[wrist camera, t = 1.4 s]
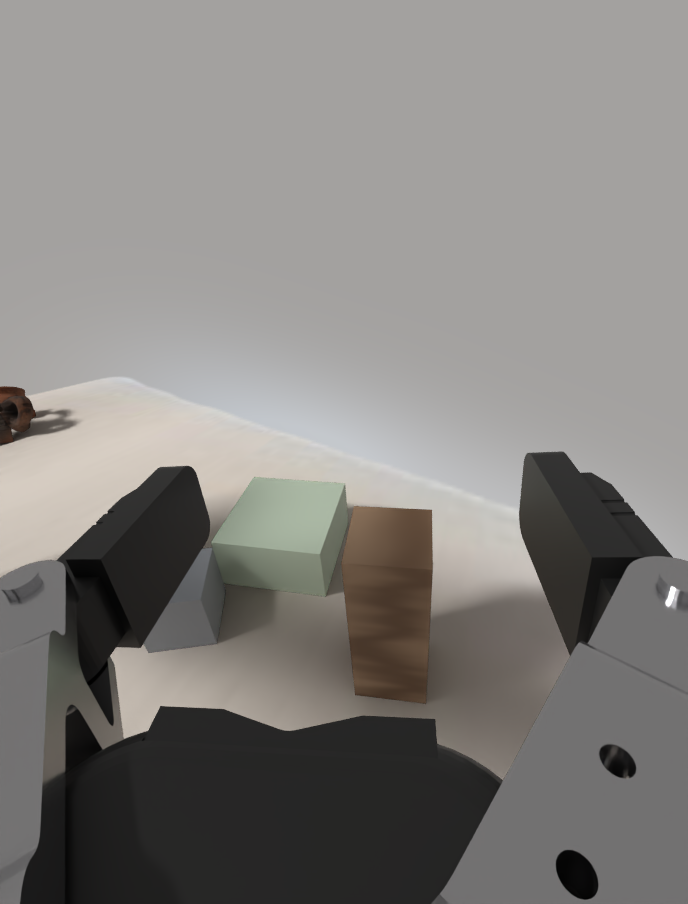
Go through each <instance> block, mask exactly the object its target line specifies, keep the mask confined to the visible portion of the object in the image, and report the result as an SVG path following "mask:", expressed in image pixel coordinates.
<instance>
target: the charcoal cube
mask: <svg viewBox="0 0 688 904" xmlns="http://www.w3.org/2000/svg"><path fill="white" fill-rule="evenodd" d="M225 593H226V589H225V586H224V583H223V579H222V576H221V573H220V570H219V567H218V564H217V560H216V557H215V554H214V551H213V548H204V549H202V550H201V551H200V553H199V554H198V556H197V558H196V559H195V561H194V562H193V564H192V566H191V567H190V569H189V571H188V572H187V574H186V575H185V577H184V579H183V580H182V582H181V584H180V585H179V587H178V588H177V590H176V592H175V593H174V595H173V596H172V598H171V600H170V601H169V603H168V605H167V606H166V608H165V609H164V611H163V613H162V614H161V616H160V617H159V619H158V621H157V622H156V624H155V626H154V627H153V629H152V630H151V632H150V634H149V635H148V637H147V638H146V640H145V642H144V645H145V647H146V649H147V651H148V653H152V652H159V651H167V650H175V649H182V648H190V647H197V646H205V645H212V644H217V641H218V635H219V629H220V623H221V617H222V611H223V605H224V599H225Z"/></svg>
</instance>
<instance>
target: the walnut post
mask: <svg viewBox="0 0 688 904" xmlns="http://www.w3.org/2000/svg"><path fill="white" fill-rule="evenodd" d="M341 566H342V575H343V585H344V594H345V603H346V613H347V622H348V632H349V641H350V650H351V660H352V669H353V678H354V688H355V695H360V696H368V697H376V698H385V699H393V700H401V701H409V702H417V703H425V704H426V691H427V672H428V652H429V632H430V612H431V592H432V572H433V560H432V510H422V509H401V508H380V507H358V506H354V508H353V513H352V517H351V522H350V526H349V531H348V535H347V540H346V544H345V548H344V553H343V557H342V562H341Z"/></svg>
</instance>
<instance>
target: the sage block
mask: <svg viewBox="0 0 688 904" xmlns="http://www.w3.org/2000/svg"><path fill="white" fill-rule="evenodd" d="M347 525H348V513H347V502H346V490H345V483H331V482H317V481H303V480H289V479H275V478H261V477H254V478H253V479H252V481H251V482H250V484H249V485H248V487H247V488H246V490H245V491H244V493H243V494H242V496H241V497H240V499H239V501H238V502H237V504H236V505H235V507H234V508H233V510H232V511H231V513H230V514H229V516H228V517H227V519H226V520H225V522H224V523H223V525H222V526H221V528H220V529H219V531H218V532H217V534H216V535H215V537H214V538H213V540H212V541H211V545H212V548H213V551H214V554H215V557H216V560H217V564H218V567H219V570H220V573H221V576H222V579H223V583H224V584H231V585H239V586H247V587H255V588H262V589H270V590H278V591H286V592H293V593H301V594H309V595H317V596H325V597H326V594H327V591H328V587H329V584H330V581H331V578H332V574H333V571H334V568H335V565H336V561H337V558H338V555H339V552H340V548H341V545H342V542H343V538H344V535H345V532H346V529H347Z"/></svg>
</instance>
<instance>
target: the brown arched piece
mask: <svg viewBox="0 0 688 904" xmlns="http://www.w3.org/2000/svg"><path fill="white" fill-rule="evenodd" d="M35 416H36V414H35V410H34V409H33V406H32V403H31V401H30V400H29V398H27V397H26V396H25V390H24V389H21V388H17V387H5V386H4V387H0V443H8V442H13V437H12V431H11V428H12V429H14V430H16V431H19V432H24V431H26V430H27V429H29V428H30V421H31V419H32V418H33V417H35Z"/></svg>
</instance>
